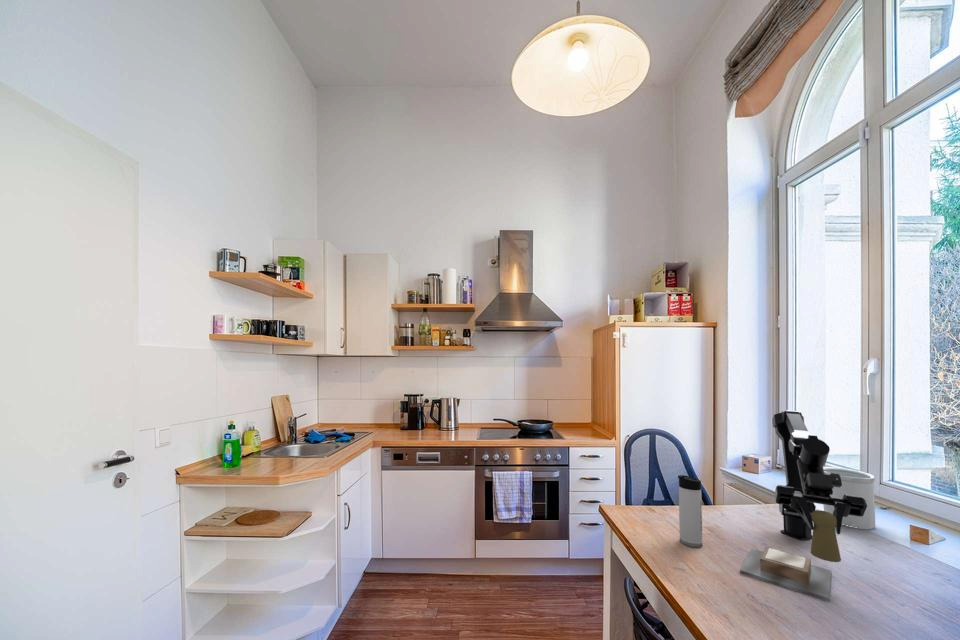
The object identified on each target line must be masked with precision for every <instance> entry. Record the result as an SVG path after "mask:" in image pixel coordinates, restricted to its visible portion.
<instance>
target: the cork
mask: <svg viewBox="0 0 960 640" xmlns="http://www.w3.org/2000/svg"><path fill="white" fill-rule="evenodd" d="M811 519H812V522H813V530H812V538H811V545H810V554H811V556H813V557H815V558H817V559H820V560H823V561H826V562H829V563H839V562H841V561H842V557H841V552H840V548H839V543H838V538H837V532H836V528H835V526H836V524H837V519H836V517H835V516H834V515H833V514H831V513H829V512H826V511H824V510H820V509H815V511H813V512H812V513H811Z"/></svg>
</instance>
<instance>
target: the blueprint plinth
mask: <svg viewBox="0 0 960 640" xmlns="http://www.w3.org/2000/svg"><path fill="white" fill-rule="evenodd" d="M739 573H740V575H743V576H747V577H750V578H754V579H756V580H760V581H763V582H766V583H770V584H773V585H775V586H779V587H782V588H784V589H785V588H786V589H788V590H791V591H794V592H797V593H801V594H804V595H807V596H810V597H813V598H816V599H818V600H819V599H820V600H822V601H826V602H827V603H829V602H831V586H832V584H831V583H832V570H831V569H827V568H824V567H820V566H816V565H812V559H811V558H809V557H806V556H802V555H799V554H794V553H791V552H787V551H784V550H780V549H776V548H773V547H769V546H765V547H764V549H763V551H762V550H759V549H756V548H753V547H752V548H750V551H749V552H748V554H747V556H746V558H745V560H744V562H743V564H742V566H741V568H740V569H739Z"/></svg>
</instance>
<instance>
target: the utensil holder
mask: <svg viewBox="0 0 960 640" xmlns="http://www.w3.org/2000/svg"><path fill="white" fill-rule="evenodd" d="M823 469H824V473H825V474H826V475H830V474H831V473H835V474H840V477H841V481H842V486H841V487H840V488H839V487H834V488H833V489H832V490H833V494H832V495H831V494H830V496H831V498H837V499H843V496H844V494H847V495H854V496H861V497H862V498H863V499H865V500H866V504H867V508H866V510H865V513H864V515H863V516H860V517H859V516H853V515H848V517H843V519H842V524H844V525H848V526H852V527H857V528H862V529H861V530H873V529H875V528H876V505H875V503H876V502H875V500H876V499H875V484H874V482H875V481H876V480H875V476H874V475H873V474H871V473H868V472H866V471H865V472H864V471H860V470H857V469H856V470H855V469H852V468H844V467H837V466H823ZM822 505H823V511H826V512H829V513H831V514H833V512H834V506H831V505H824V504H822ZM852 527H851V528H852ZM857 528H856V529H857Z"/></svg>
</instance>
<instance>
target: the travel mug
mask: <svg viewBox="0 0 960 640" xmlns="http://www.w3.org/2000/svg"><path fill="white" fill-rule="evenodd" d="M677 478H678V507H679V508H678V511H679V513H678V516H679V517H678V518H679V520H678V521H679V522H678V523H679V542H680V543H682V544H683V545H685V546H687V547H690V548H691V547H692V548H700V547H702V546H703V510H702V509H703V508H702V503H703V502H702V481H701V480H699V479H697V478H696V477H693V476H688V475H683V474H681V475H678V476H677Z"/></svg>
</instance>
